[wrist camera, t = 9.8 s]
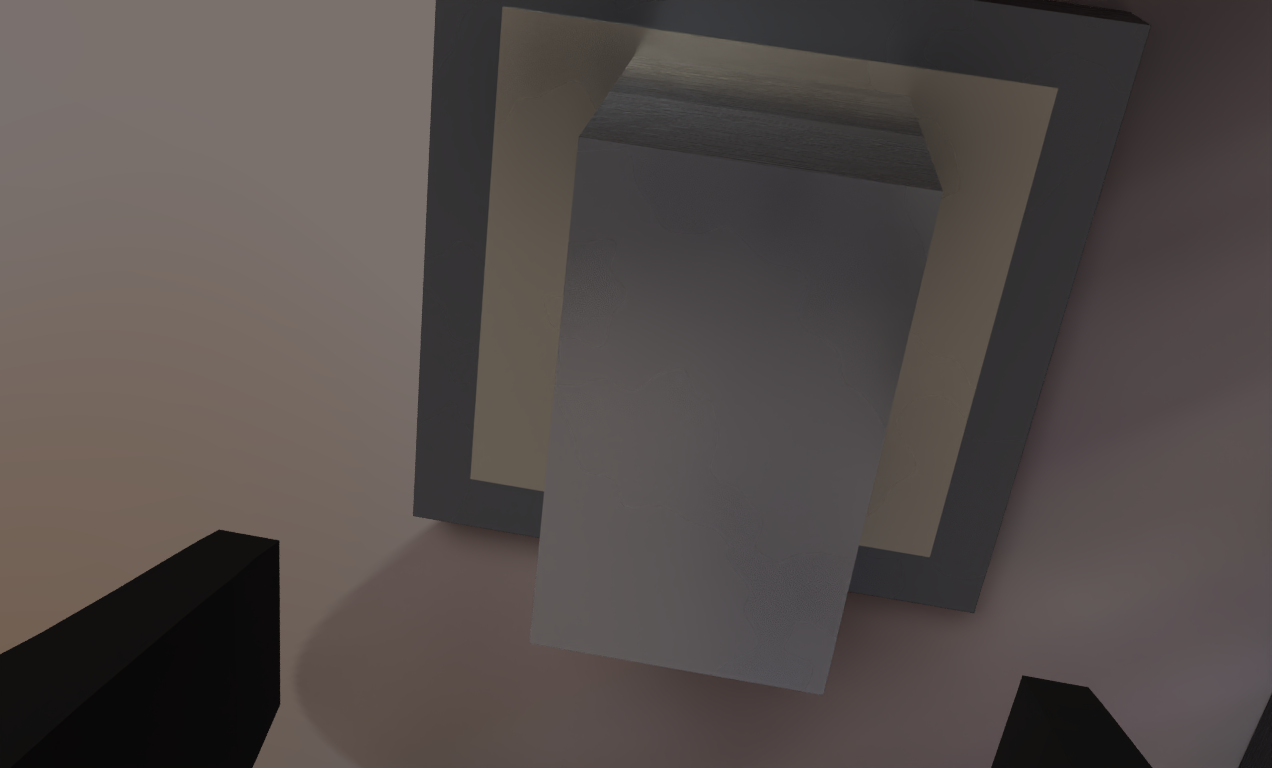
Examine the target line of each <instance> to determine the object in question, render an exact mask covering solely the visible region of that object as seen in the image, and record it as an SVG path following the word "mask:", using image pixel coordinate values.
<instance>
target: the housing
mask: <svg viewBox="0 0 1272 768" xmlns="http://www.w3.org/2000/svg"><path fill="white" fill-rule="evenodd" d="M942 194H943V190H942V187H941V184H940V181H939V178H938V176H937V173H936V170H935V167H934V164H933V162H932V159H931V156H930V153H929V150H928V147H927V145H926V142H925V139H924V136H923V133H922V130H921V128H920V125H919V122H918V119H917V116H916V114H915V111H914V108H913V105H912V102H911V99H910V97H909V96H907V95H900V94H894V93H887V92H880V91H873V90H866V89H859V88H852V87H845V86H838V85H831V84H825V83H818V82H811V81H804V80H797V79H790V78H783V77H776V76H769V75H762V74H755V73H749V72H742V71H735V70H728V69H721V68H714V67H707V66H700V65H693V64H686V63H679V62H673V61H666V60H659V59H652V58H645V57H638V56H634V57H633V58H632V60H631V61H630V63H629V64H628V66H627V67H626V69H625V70H624V72H623V73H622V74H621V76H620V77H619V79H618V80H617V82H616V83H615V85H614V86H613V88H612V89H611V91H610V92H609V93H608V95H607V96H606V98H605V99H604V101H603V102H602V104H601V105H600V107H599V108H598V109H597V111H596V112H595V114H594V115H593V117H592V118H591V120H590V121H589V123H588V124H587V125H586V127H585V128H584V130H583V131H582V133H581V134H580V136H579V138H578V148H577V159H576V169H575V179H574V190H573V200H572V210H571V221H570V231H569V241H568V251H567V262H566V272H565V282H564V293H563V303H562V313H561V324H560V334H559V344H558V354H557V365H556V375H555V385H554V396H553V406H552V416H551V427H550V437H549V447H548V458H547V468H546V478H545V488H544V499H543V509H542V519H541V530H540V540H539V550H538V561H537V571H536V581H535V591H534V602H533V612H532V622H531V633H530V644H536V645H542V646H547V647H553V648H559V649H564V650H570V651H576V652H581V653H587V654H593V655H598V656H604V657H610V658H615V659H621V660H627V661H632V662H638V663H644V664H649V665H655V666H661V667H666V668H672V669H678V670H683V671H689V672H695V673H700V674H706V675H712V676H717V677H723V678H729V679H734V680H740V681H746V682H751V683H757V684H763V685H768V686H774V687H780V688H785V689H791V690H797V691H802V692H808V693H814V694H819V695H823V694H824V690H825V686H826V682H827V677H828V673H829V669H830V665H831V661H832V656H833V652H834V648H835V644H836V640H837V635H838V631H839V627H840V623H841V619H842V614H843V610H844V606H845V602H846V598H847V593H848V589H849V585H850V581H851V577H852V572H853V568H854V564H855V560H856V556H857V551H858V547H859V543H860V539H861V535H862V530H863V526H864V522H865V518H866V514H867V509H868V505H869V501H870V497H871V493H872V488H873V484H874V480H875V476H876V471H877V467H878V463H879V459H880V455H881V450H882V446H883V442H884V438H885V434H886V429H887V425H888V421H889V417H890V413H891V408H892V404H893V400H894V396H895V392H896V387H897V383H898V379H899V375H900V371H901V366H902V362H903V358H904V354H905V350H906V345H907V341H908V337H909V333H910V329H911V324H912V320H913V316H914V312H915V308H916V303H917V299H918V295H919V291H920V287H921V282H922V278H923V274H924V270H925V265H926V261H927V257H928V253H929V249H930V244H931V240H932V236H933V232H934V228H935V223H936V219H937V215H938V211H939V207H940V202H941V198H942Z"/></svg>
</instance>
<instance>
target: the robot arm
mask: <svg viewBox="0 0 1272 768" xmlns="http://www.w3.org/2000/svg"><path fill="white" fill-rule="evenodd" d="M279 594H280V585H279V540H273V539H268V538H262V537H257V536H251V535H246V534H240V533H235V532H229V531H224V530H218V531H216V532H214V533H212V534H210V535H208V536H206V537H205V538H203V539H201V540H199V541H197V542H196V543H194V544H192V545H190V546H189V547H187V548H185V549H184V550H182V551H180V552H178V553H177V554H175V555H173V556H172V557H170V558H168V559H167V560H165V561H163V562H162V563H160V564H158V565H157V566H155V567H153V568H151V569H150V570H148V571H146V572H145V573H143V574H141V575H140V576H138V577H136V578H135V579H133V580H132V581H130V582H128V583H126V584H125V585H123V586H121V587H120V588H118V589H116V590H115V591H113V592H111V593H109V594H108V595H106V596H104V597H102V598H101V599H99V600H97V601H96V602H94V603H92V604H90V605H89V606H87V607H85V608H83V609H82V610H80V611H78V612H77V613H75V614H73V615H71V616H70V617H68V618H66V619H65V620H63V621H61V622H59V623H57V624H56V625H54V626H52V627H50V628H49V629H47V630H45V631H44V632H42V633H40V634H38V635H36V636H34V637H32V638H31V639H29V640H27V641H25V642H23V643H21V644H19V645H17V646H15V647H13V648H12V649H10V650H8V651H6V652H4V653H2V654H0V768H252V767H253V765H254V763H255V761H256V759H257V757H258V754H259V752H260V749H261V747H262V745H263V743H264V740H265V738H266V736H267V733H268V731H269V729H270V726H271V724H272V722H273V720H274V717H275V715H276V713H277V710H278V708H279V706H280V595H279ZM991 768H1152V767H1151V765H1150V764H1149V763H1148V762H1147V760H1146V759H1145V758H1144V757H1143V755H1142V754H1141V753H1140V751H1139V750H1138V749H1137V748H1136V746H1135V745H1134V744H1133V742H1132V741H1131V740H1130V739H1129V737H1128V736H1127V735H1126V733H1125V732H1124V731H1123V730H1122V728H1121V727H1120V726H1119V725H1118V723H1117V722H1116V721H1115V719H1114V718H1113V717H1112V716H1111V714H1110V713H1109V712H1108V711H1107V709H1106V708H1105V707H1104V706H1103V704H1102V703H1101V702H1100V701H1099V699H1098V698H1097V697H1096V696H1095V695H1094V693H1093V692H1092V691H1091V690H1090V689H1089V688H1088V687H1083V686H1078V685H1072V684H1067V683H1061V682H1056V681H1050V680H1045V679H1039V678H1034V677H1028V676H1022V679H1021V682H1020V685H1019V688H1018V691H1017V694H1016V697H1015V700H1014V702H1013V705H1012V708H1011V711H1010V714H1009V717H1008V720H1007V723H1006V726H1005V729H1004V732H1003V735H1002V738H1001V741H1000V744H999V747H998V750H997V753H996V756H995V758H994V761H993V764H992V767H991Z"/></svg>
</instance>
